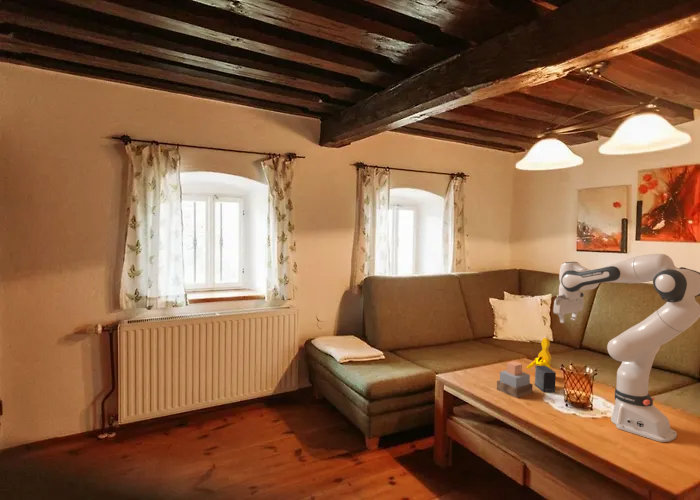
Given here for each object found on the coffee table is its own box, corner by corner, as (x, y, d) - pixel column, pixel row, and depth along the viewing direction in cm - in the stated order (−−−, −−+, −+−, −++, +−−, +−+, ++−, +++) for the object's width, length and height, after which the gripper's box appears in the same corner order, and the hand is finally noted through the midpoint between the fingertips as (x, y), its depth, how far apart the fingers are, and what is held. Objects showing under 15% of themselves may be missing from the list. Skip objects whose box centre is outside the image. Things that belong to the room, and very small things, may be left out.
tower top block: (529, 384, 204) (529, 374, 204) (516, 388, 200) (516, 378, 199) (513, 377, 213) (513, 368, 213) (499, 381, 209) (500, 371, 208)
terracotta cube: (521, 373, 205) (522, 364, 205) (514, 375, 203) (514, 365, 203) (513, 370, 210) (514, 361, 209) (506, 372, 207) (507, 362, 207)
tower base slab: (532, 394, 205) (532, 384, 204) (516, 398, 199) (516, 389, 198) (512, 385, 215) (512, 376, 215) (496, 390, 209) (497, 381, 209)
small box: (556, 392, 205) (556, 372, 205) (543, 392, 206) (543, 372, 205) (546, 384, 216) (547, 365, 215) (534, 384, 216) (534, 365, 215)
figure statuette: (524, 373, 232) (524, 335, 231) (532, 371, 236) (533, 334, 234) (552, 384, 216) (553, 343, 215) (561, 381, 220) (562, 341, 219)
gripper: (562, 296, 192) (561, 325, 193) (586, 293, 203) (585, 320, 204) (550, 294, 198) (549, 322, 199) (573, 291, 208) (573, 318, 209)
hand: (567, 321), depth 201 cm, fingers open, 8 cm apart
